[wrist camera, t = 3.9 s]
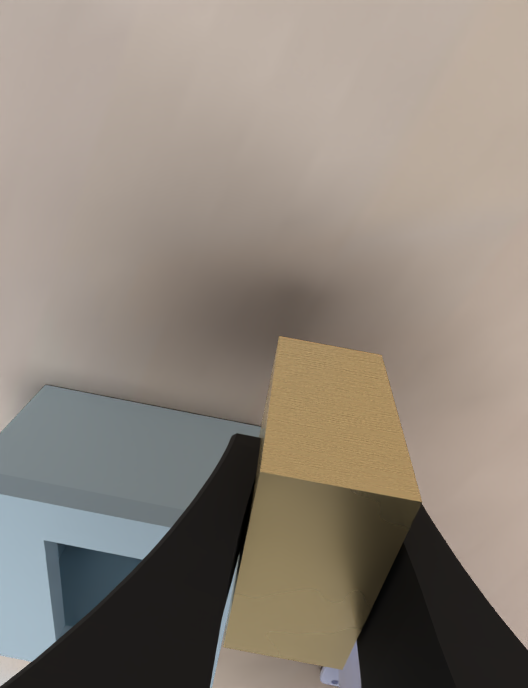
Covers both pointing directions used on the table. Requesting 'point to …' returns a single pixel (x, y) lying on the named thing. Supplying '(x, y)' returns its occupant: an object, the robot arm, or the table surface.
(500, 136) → the table surface
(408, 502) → the tan rectangular block
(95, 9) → the table surface
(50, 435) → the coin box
